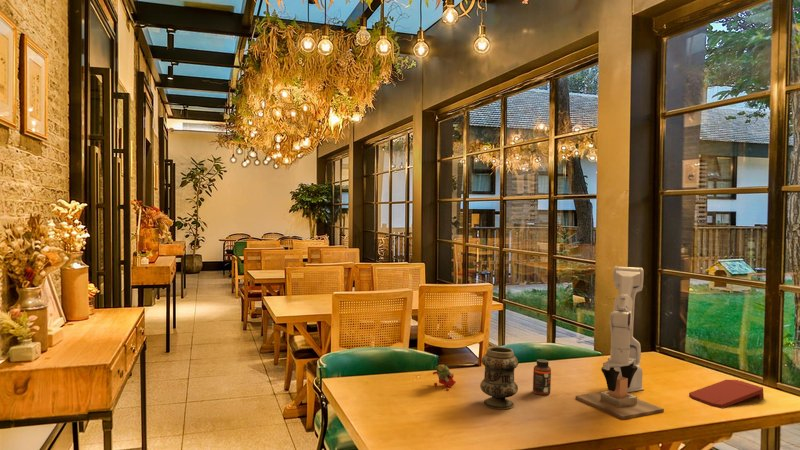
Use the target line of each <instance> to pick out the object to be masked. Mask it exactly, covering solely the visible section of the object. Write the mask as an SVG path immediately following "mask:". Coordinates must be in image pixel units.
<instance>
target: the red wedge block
mask: <svg viewBox="0 0 800 450" xmlns="http://www.w3.org/2000/svg"><path fill="white" fill-rule="evenodd" d="M764 395H765V393H764V387H763V386H759V385H755V384H752V383H751V382H750V383H749V382H746V381H742V380H738V379H724V380H722V381H718V382H715V383H713V384H709V385H708V386H704V387H700V388H699V389H695V390H694V391H693V390H692V391H690V392H688V396H689V398H691V399H693V400H696V401H698V402H700V403H704V404H706V405H709V406H712V407H716V408H721V409H723V408H727V407H729V406H732V405H734V404H737V403H740V402H743V401H745V400H748V399H751V398H753V397H754V398H756V399H760V398H761V399H764V397H765V396H764Z"/></svg>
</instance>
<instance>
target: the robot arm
mask: <svg viewBox="0 0 800 450" xmlns="http://www.w3.org/2000/svg"><path fill="white" fill-rule="evenodd" d="M644 273H645V272H644V269H643V267H633V266H632V267H631V266H629V267H628V266H618V265H615V266H614V267H613V273H612V274H613V283H614V286H615V289H616V290H618V292H619V294H618V295H617V296H615V298H614V303H613V307H612V308H613V309H612V311H611V312H610V314H609V327H610V328H609V329H610V354H609V355H610V357H609V358H607V361H605V362H603V363H602V367H601V368H600V369H601V372H602V375H603V376H604V378H605V381H606V386H607V391H609V390H610V391H615V388H616V381H617V377H618V376H621V377H624V378H628V387H627V393H631V392H638V391H642V390H643V391H644V390H645V388H644V387H643V368H642V367H641V365H640V364H641V357H642V349H641V343H640V342H639V340H637V339H636V338H635V337H634V321H635V320H634V318H635V303H636V301H635V300H636V295H637V293H639V292H642V291H643V288H644V276H645V275H644Z"/></svg>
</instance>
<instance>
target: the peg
mask: <svg viewBox="0 0 800 450" xmlns="http://www.w3.org/2000/svg"><path fill="white" fill-rule="evenodd" d="M627 387H628V378H624V377H621V376H618V377H617V381H616V388H615V391H610V390H608V391H609V394H610V395H612V396H614V397H617V398H625V397H627V393H628V392H627Z"/></svg>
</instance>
